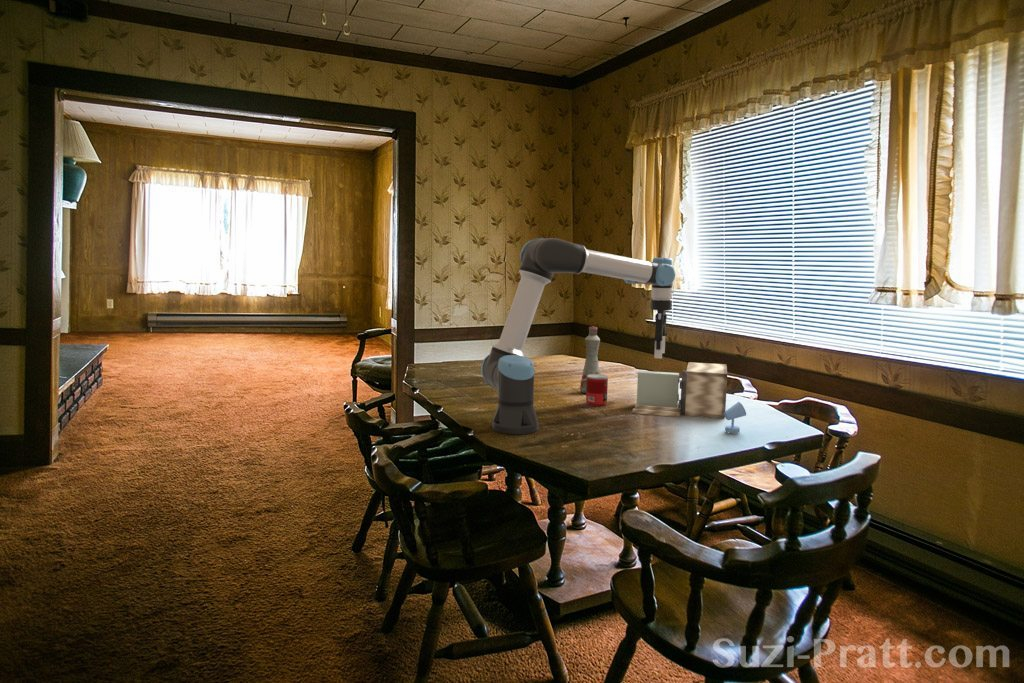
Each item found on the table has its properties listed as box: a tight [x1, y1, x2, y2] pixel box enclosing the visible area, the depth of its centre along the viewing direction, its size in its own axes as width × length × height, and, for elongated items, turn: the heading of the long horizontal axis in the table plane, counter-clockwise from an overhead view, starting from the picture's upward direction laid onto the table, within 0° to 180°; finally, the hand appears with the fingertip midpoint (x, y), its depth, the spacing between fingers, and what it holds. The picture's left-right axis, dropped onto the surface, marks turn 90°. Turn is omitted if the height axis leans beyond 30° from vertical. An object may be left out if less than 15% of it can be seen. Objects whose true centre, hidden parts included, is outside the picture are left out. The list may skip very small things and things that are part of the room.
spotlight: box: [724, 401, 747, 434], centre depth 215 cm, size 5×10×7 cm
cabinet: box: [632, 361, 728, 419], centre depth 246 cm, size 32×25×16 cm
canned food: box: [585, 374, 609, 407], centre depth 253 cm, size 8×8×11 cm
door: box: [636, 370, 681, 408], centre depth 251 cm, size 15×4×13 cm, turn 73°
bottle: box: [579, 325, 601, 395], centre depth 273 cm, size 9×9×28 cm
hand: (659, 355), depth 249 cm, fingers open, 13 cm apart
